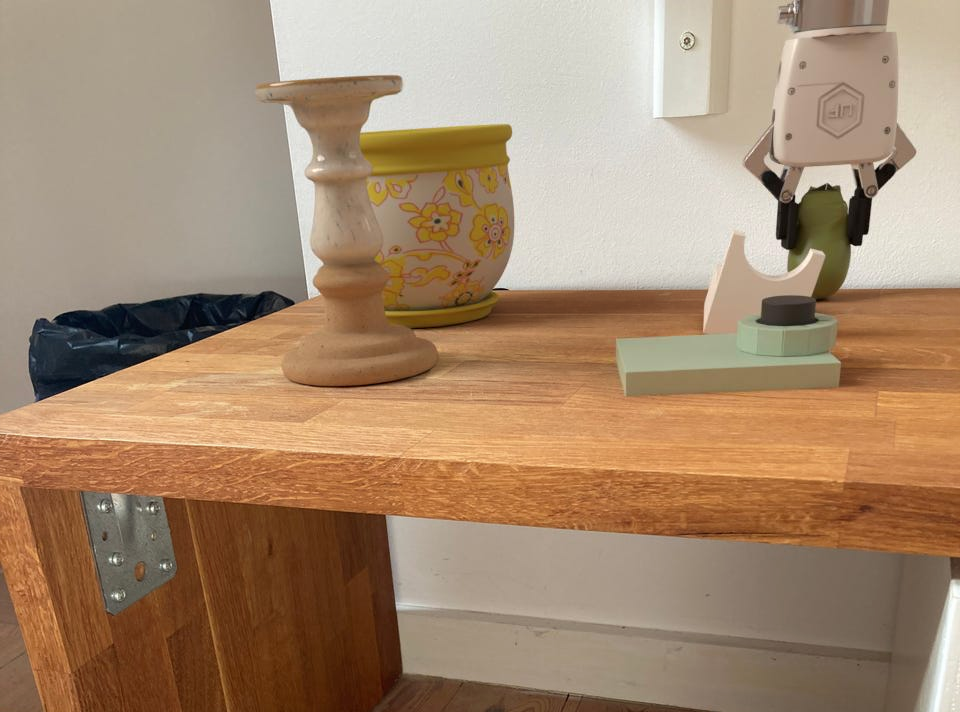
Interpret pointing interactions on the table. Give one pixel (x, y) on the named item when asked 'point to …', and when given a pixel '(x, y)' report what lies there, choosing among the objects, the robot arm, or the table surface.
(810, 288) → the bracket
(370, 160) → the flowerpot
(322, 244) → the candle holder
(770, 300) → the button
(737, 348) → the green base plate
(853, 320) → the table surface
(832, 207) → the olive green rounded piece
